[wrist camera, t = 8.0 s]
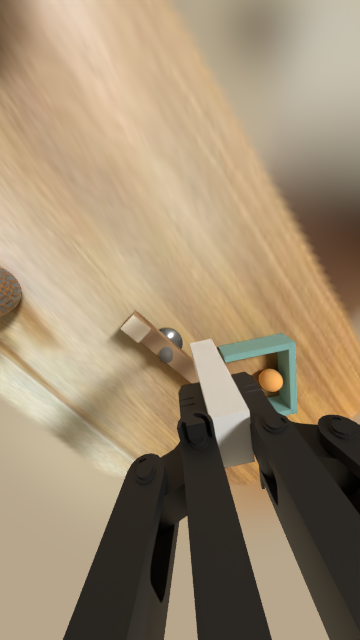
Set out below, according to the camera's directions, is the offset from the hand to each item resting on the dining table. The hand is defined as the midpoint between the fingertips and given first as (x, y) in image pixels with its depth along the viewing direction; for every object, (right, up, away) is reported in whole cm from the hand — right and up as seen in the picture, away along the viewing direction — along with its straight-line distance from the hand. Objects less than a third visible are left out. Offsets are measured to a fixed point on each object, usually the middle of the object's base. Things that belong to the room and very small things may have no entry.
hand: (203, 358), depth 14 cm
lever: (-2, -3, +18) cm, 18 cm away
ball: (+13, -7, +19) cm, 24 cm away
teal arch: (+11, -7, +20) cm, 24 cm away
